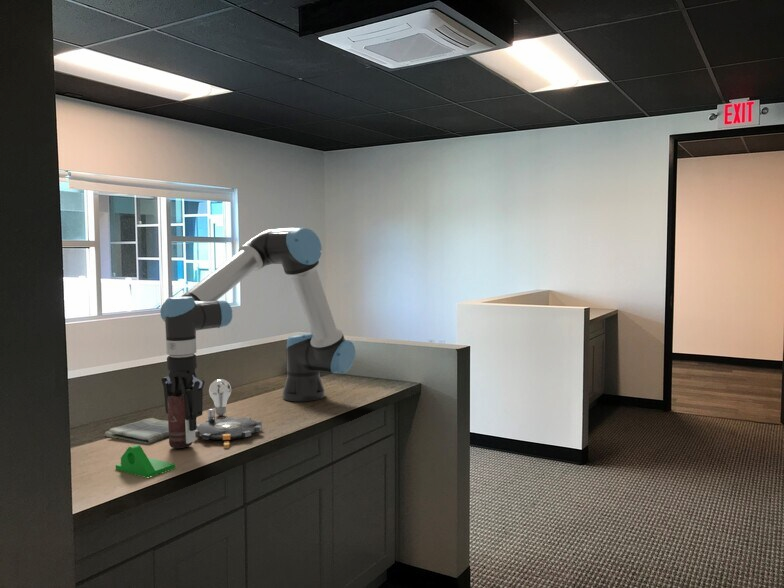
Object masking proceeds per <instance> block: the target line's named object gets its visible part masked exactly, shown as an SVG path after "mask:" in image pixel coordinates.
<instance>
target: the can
mask: <svg viewBox="0 0 784 588" xmlns="http://www.w3.org/2000/svg"><path fill="white" fill-rule="evenodd" d="M179 396H180V397H178V396H173V393H172V394H169V396H168V398H167V403H168V414H167V421H168V427H169V437H168V444H169V446H170V447H171V448H173V449H183V448H184V449H185V448H188V447H190V446H192V444H193V443H194V442H191V443H189V444H187V443H186V430H185V418H187V412H186V406H185V400H184V395H183V394H182V395H179Z"/></svg>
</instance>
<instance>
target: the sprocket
mask: <svg viewBox="0 0 784 588" xmlns="http://www.w3.org/2000/svg"><path fill="white" fill-rule="evenodd" d="M262 423H263V422H262V421H261V420H254V419H252V418H251V417H233V416H228V417H227V416H226V417H225V418H219V419H218V418H217V419H216V412H215V408H209V409H207V420H205V422H203V423H200V424H199V423H196V426H197V428H196V430H195V437H197V436H198V437H202V440H207V441H208V440H211V439H223V440H226V441H231V440H230V438H236V437H242V436H243V438H246V437H251V436H252V434H253V433H255V432H256V433H257V432H258V433H259V432H262V429H263V424H262Z"/></svg>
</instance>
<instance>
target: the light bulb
mask: <svg viewBox="0 0 784 588" xmlns="http://www.w3.org/2000/svg"><path fill="white" fill-rule="evenodd" d="M208 394H209V396H210V398H211V399H212V401H213V405H214V409H215V415H217V416H219V417H223V416H224V415H225V414H226V412H227V407H226V406H227V404H228V399H229V398H230V396H231V394H232V387H231V384H230V382H229V381H227V380H226V379H223V378H218V379H215V380H214V381H213V382H211V383H210V385H209V389H208Z"/></svg>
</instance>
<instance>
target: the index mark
mask: <svg viewBox="0 0 784 588" xmlns="http://www.w3.org/2000/svg"><path fill="white" fill-rule="evenodd" d="M229 448H230V440H226V441H223V449H229Z"/></svg>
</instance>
